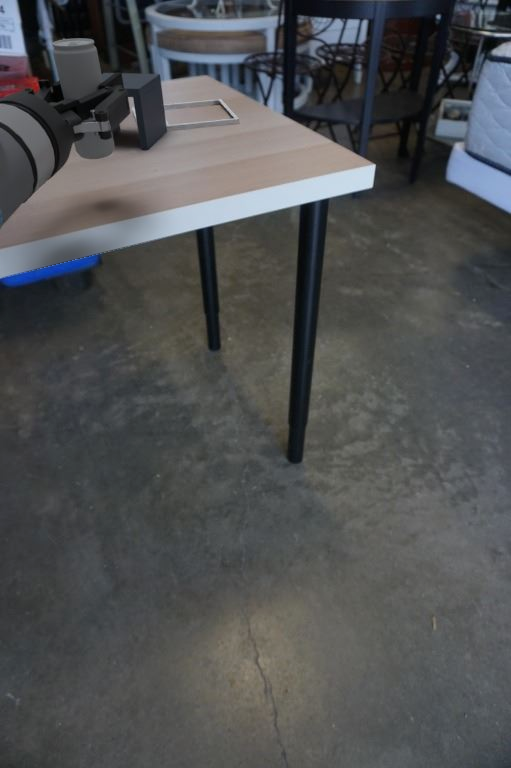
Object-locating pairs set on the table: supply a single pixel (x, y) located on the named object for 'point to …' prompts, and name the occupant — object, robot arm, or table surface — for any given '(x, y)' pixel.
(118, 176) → the table surface
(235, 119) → the photo frame
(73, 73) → the beverage can
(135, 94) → the shelf
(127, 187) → the table surface
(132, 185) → the table surface
